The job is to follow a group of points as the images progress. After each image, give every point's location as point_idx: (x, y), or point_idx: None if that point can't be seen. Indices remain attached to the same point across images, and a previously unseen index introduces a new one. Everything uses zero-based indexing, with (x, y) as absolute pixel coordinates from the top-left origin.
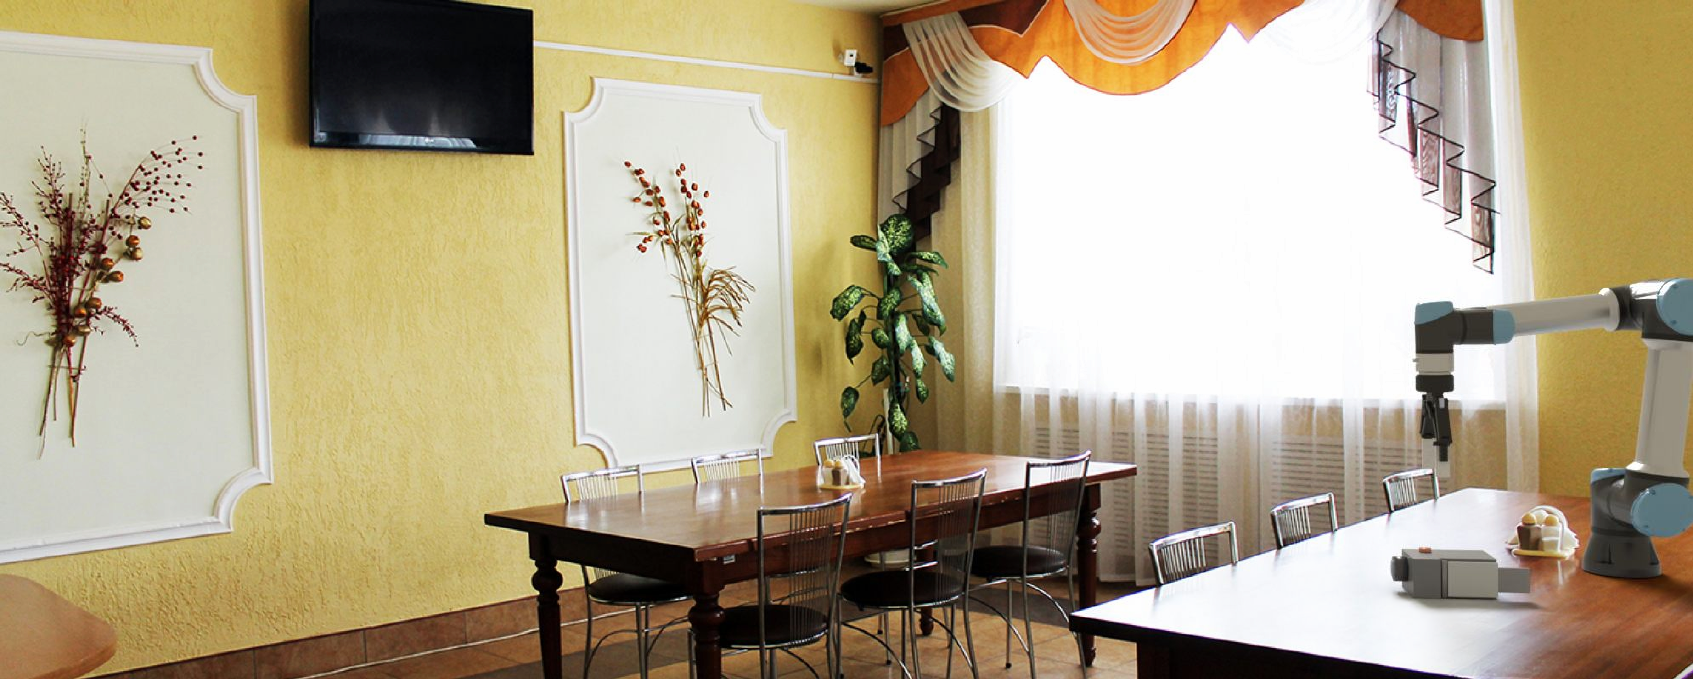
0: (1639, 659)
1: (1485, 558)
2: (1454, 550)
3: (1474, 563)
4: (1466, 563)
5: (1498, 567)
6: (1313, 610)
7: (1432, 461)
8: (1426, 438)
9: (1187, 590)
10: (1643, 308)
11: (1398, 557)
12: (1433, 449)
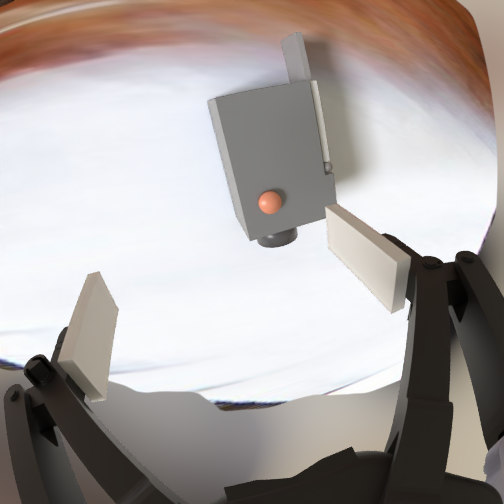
0: (470, 32)
1: (305, 98)
2: (236, 150)
3: (322, 118)
4: (324, 131)
5: (308, 79)
6: None
7: (98, 299)
8: (80, 390)
9: (316, 383)
10: None
11: (287, 237)
12: (88, 329)
